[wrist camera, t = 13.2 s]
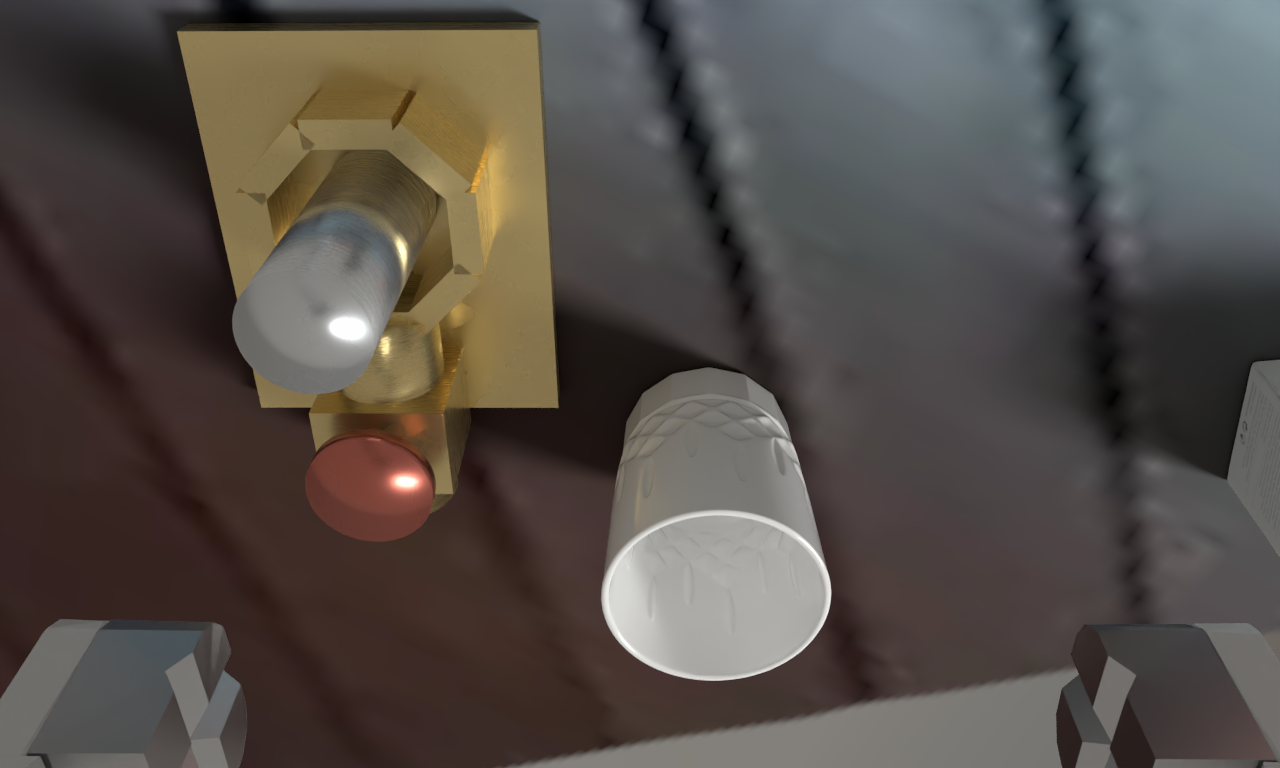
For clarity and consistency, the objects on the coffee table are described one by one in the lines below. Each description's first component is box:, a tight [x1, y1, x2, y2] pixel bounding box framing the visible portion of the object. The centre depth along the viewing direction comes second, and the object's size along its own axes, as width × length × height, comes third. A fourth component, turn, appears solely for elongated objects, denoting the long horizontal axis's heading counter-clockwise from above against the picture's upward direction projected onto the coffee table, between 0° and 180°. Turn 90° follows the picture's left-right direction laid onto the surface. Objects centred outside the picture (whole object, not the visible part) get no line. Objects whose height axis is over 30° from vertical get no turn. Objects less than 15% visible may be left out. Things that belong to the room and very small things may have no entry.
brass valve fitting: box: [177, 22, 560, 542], centre depth 40 cm, size 18×12×8 cm
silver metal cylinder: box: [232, 150, 437, 394], centre depth 37 cm, size 4×4×10 cm
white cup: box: [601, 367, 831, 681], centre depth 43 cm, size 8×8×10 cm
